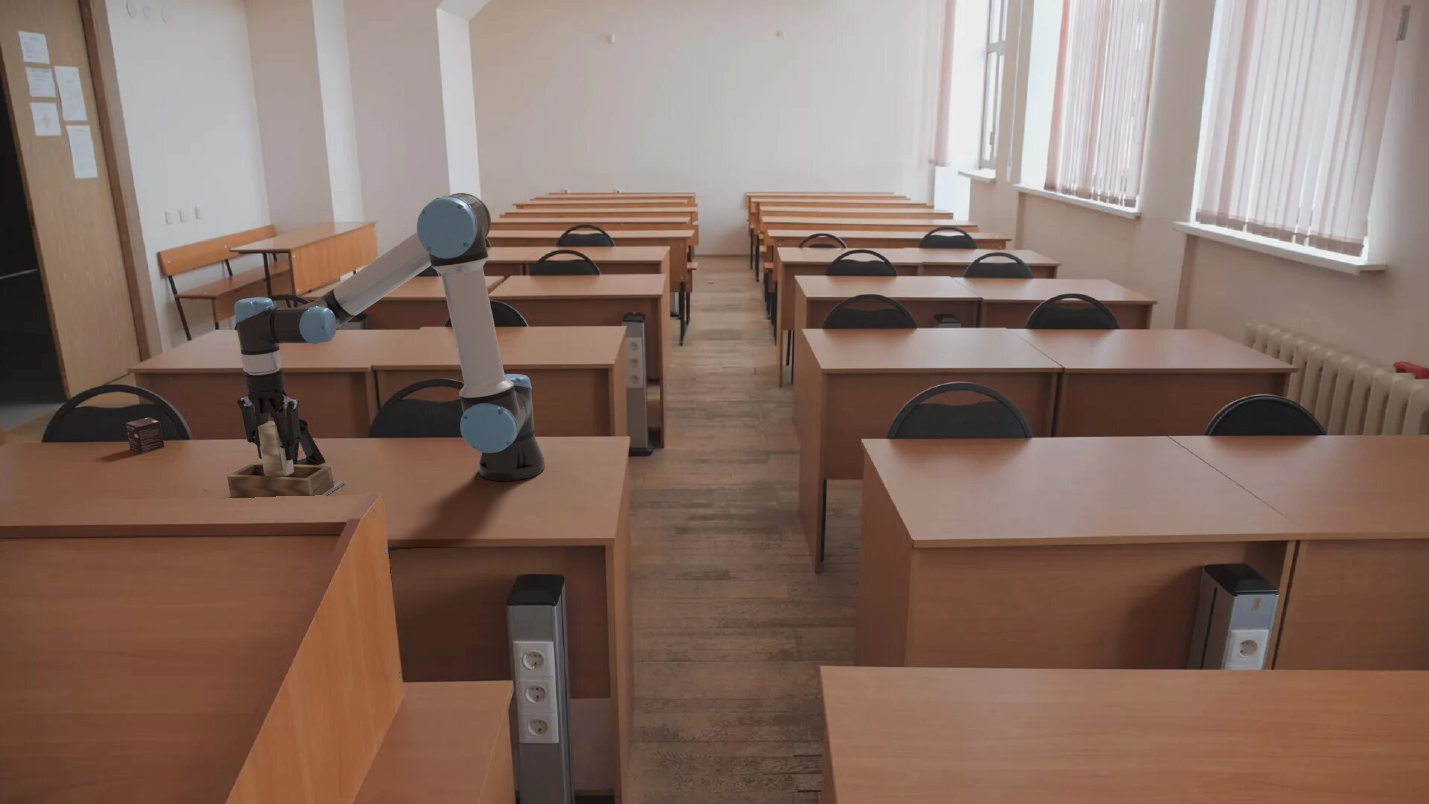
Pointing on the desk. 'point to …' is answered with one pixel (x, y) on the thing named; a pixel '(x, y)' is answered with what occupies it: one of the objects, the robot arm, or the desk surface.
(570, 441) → the desk surface
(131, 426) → the box
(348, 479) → the desk surface
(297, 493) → the wooden tray
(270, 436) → the birch block
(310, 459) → the black phone stand
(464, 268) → the robot arm
